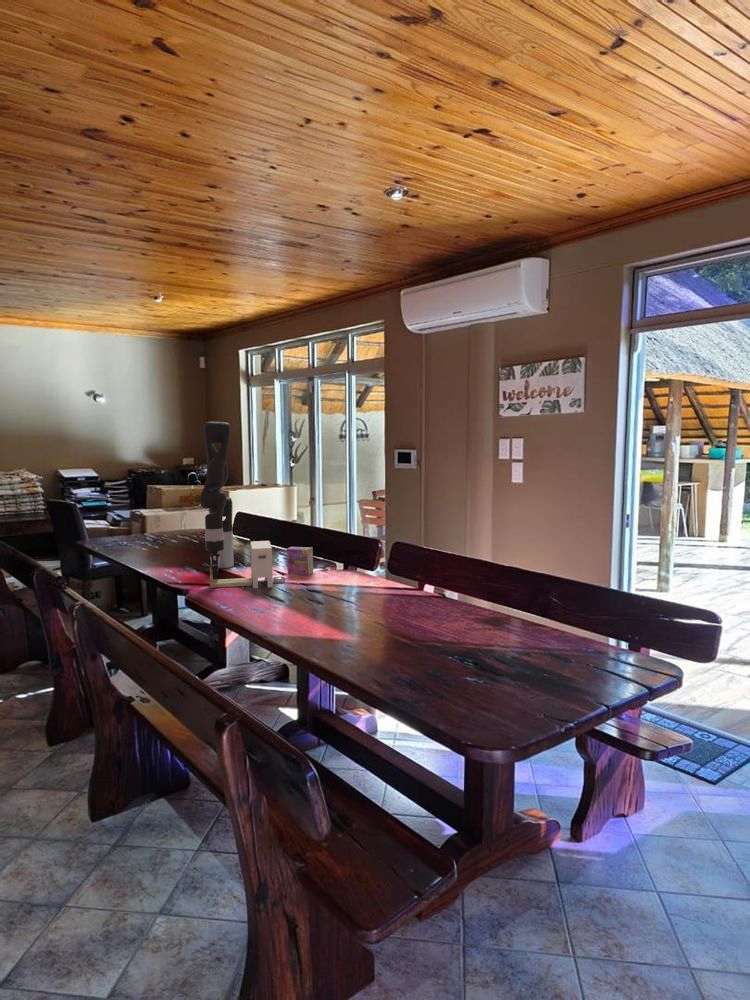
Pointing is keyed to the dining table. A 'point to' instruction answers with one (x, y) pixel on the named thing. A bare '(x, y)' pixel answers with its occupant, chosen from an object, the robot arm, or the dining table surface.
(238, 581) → the stepped wooden block
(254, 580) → the notched block
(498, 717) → the dining table surface
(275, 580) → the puck
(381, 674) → the dining table surface
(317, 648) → the dining table surface
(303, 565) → the box
